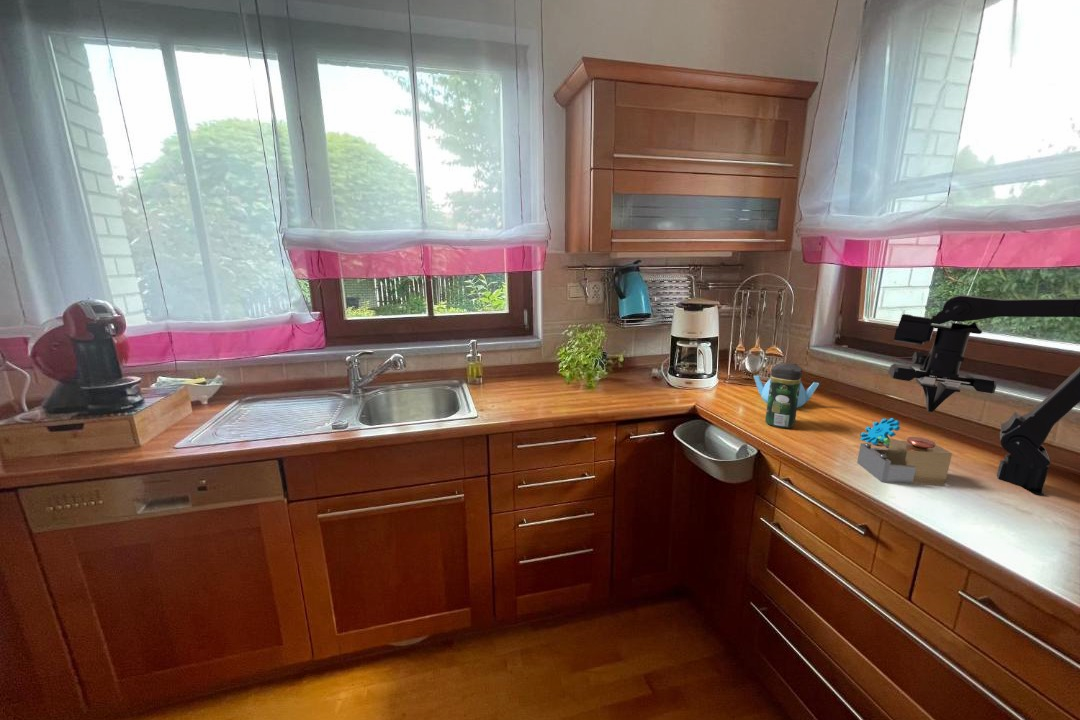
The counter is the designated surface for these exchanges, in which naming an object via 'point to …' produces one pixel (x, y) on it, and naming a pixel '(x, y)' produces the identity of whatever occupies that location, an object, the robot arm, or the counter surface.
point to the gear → (881, 432)
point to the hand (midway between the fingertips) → (929, 411)
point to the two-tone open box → (888, 467)
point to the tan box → (921, 458)
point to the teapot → (803, 394)
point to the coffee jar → (783, 395)
